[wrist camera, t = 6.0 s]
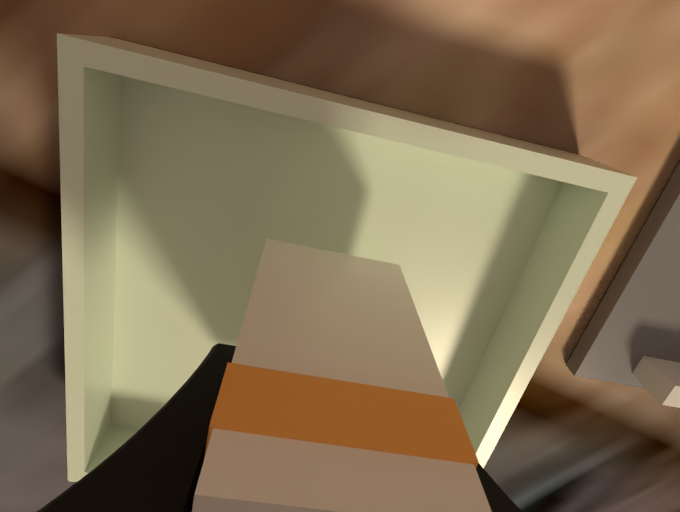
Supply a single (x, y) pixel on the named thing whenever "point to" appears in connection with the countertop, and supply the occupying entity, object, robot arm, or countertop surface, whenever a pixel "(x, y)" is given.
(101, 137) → the tray
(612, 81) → the countertop surface
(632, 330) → the fuse holder
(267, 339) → the block
